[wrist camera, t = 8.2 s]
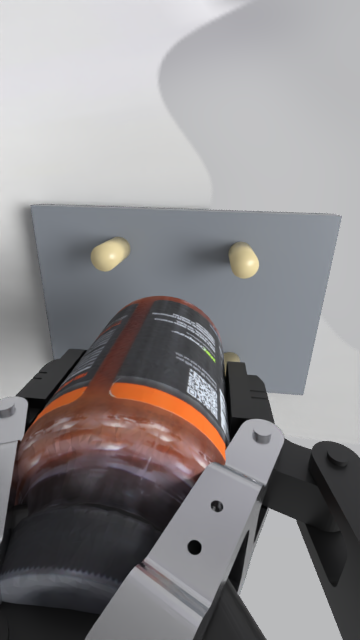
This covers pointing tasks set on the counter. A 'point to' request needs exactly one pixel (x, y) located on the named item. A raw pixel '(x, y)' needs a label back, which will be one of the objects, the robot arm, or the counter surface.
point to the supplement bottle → (116, 455)
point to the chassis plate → (192, 276)
